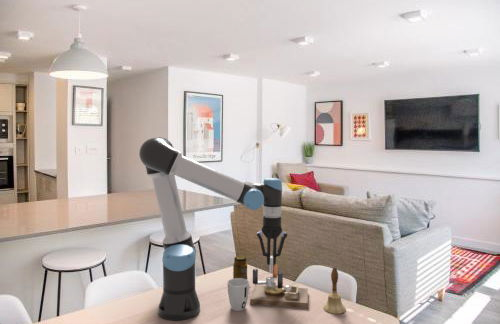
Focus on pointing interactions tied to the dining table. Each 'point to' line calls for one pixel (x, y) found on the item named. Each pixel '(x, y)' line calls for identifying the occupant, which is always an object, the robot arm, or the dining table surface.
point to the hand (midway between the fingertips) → (271, 272)
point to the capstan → (270, 282)
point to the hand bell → (334, 297)
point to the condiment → (240, 267)
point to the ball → (287, 289)
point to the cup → (238, 293)
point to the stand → (281, 297)
